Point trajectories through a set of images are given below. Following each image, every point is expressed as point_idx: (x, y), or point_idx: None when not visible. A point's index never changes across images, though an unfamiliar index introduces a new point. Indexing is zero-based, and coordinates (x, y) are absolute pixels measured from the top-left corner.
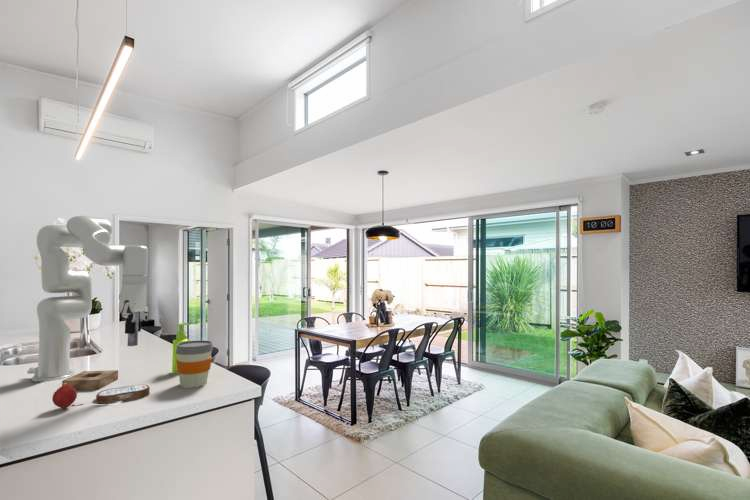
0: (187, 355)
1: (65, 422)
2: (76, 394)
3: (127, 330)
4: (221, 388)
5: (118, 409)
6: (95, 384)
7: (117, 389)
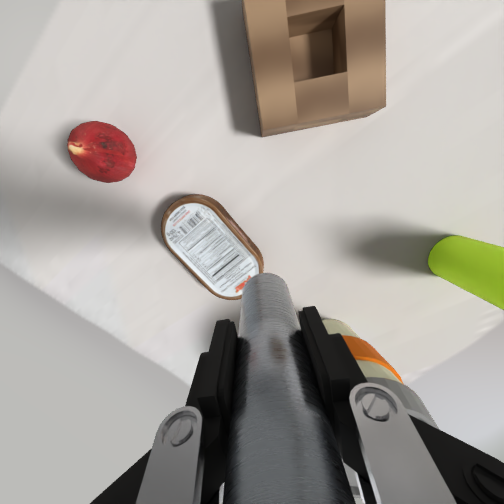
0: None
1: (61, 231)
2: (120, 178)
3: (203, 359)
4: None
5: (147, 285)
6: (260, 120)
7: (217, 230)
